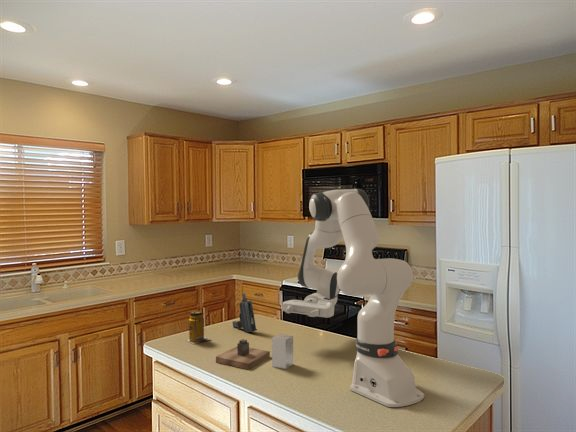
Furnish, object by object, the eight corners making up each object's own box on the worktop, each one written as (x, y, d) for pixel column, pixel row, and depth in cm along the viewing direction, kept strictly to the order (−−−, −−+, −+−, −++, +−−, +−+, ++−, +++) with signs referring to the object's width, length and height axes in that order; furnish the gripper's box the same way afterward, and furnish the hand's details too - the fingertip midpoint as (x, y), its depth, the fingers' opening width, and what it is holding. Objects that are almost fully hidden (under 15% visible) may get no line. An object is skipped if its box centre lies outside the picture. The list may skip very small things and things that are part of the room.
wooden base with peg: (269, 356, 154) (269, 337, 154) (248, 369, 142) (248, 349, 142) (239, 350, 161) (238, 332, 161) (215, 362, 148) (215, 342, 148)
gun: (232, 296, 196) (251, 292, 186) (238, 332, 193) (257, 330, 183) (227, 296, 195) (246, 293, 184) (233, 333, 192) (252, 331, 181)
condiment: (185, 340, 174) (185, 311, 174) (204, 336, 179) (204, 308, 179) (192, 344, 168) (192, 315, 168) (211, 340, 174) (211, 312, 173)
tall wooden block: (293, 364, 146) (293, 336, 146) (285, 369, 142) (285, 340, 141) (280, 361, 149) (279, 333, 149) (272, 366, 144) (272, 337, 144)
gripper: (291, 294, 173) (274, 301, 161) (337, 300, 163) (323, 307, 151) (291, 309, 173) (274, 317, 161) (337, 316, 163) (322, 324, 151)
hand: (298, 312), depth 156 cm, fingers open, 8 cm apart
